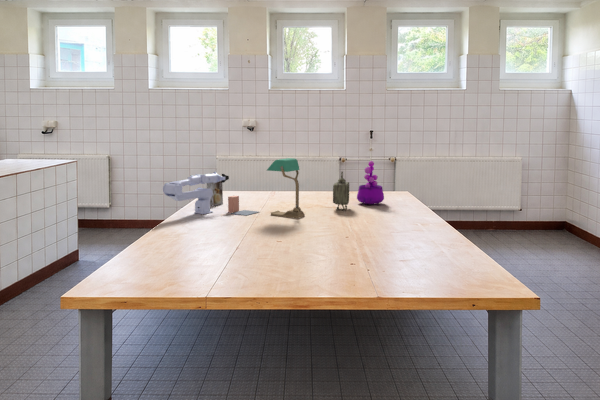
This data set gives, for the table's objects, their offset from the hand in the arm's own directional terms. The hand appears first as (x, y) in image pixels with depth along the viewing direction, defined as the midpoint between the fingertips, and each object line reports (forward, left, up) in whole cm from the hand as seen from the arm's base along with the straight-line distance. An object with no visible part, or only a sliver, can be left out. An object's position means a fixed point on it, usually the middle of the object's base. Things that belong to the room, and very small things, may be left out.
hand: (223, 177), depth 373 cm
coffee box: (+8, +15, -21) cm, 27 cm away
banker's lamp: (-2, -49, -21) cm, 54 cm away
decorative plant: (+67, -75, -21) cm, 103 cm away
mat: (-8, -22, -21) cm, 31 cm away
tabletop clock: (+37, -67, -21) cm, 80 cm away
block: (-8, -13, -21) cm, 26 cm away
